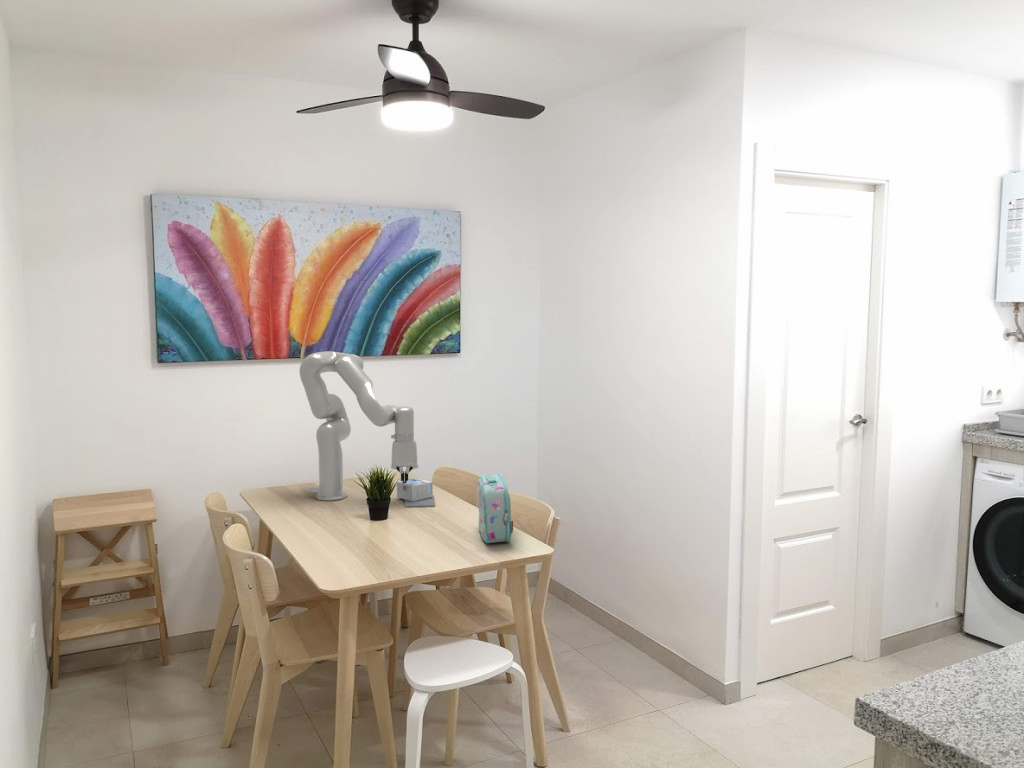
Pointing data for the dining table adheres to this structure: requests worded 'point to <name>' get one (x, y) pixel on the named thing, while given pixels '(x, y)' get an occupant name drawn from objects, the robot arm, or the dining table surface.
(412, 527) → the dining table surface
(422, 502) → the mat
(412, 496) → the light bulb box
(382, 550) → the dining table surface
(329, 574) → the dining table surface
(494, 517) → the lunch box
